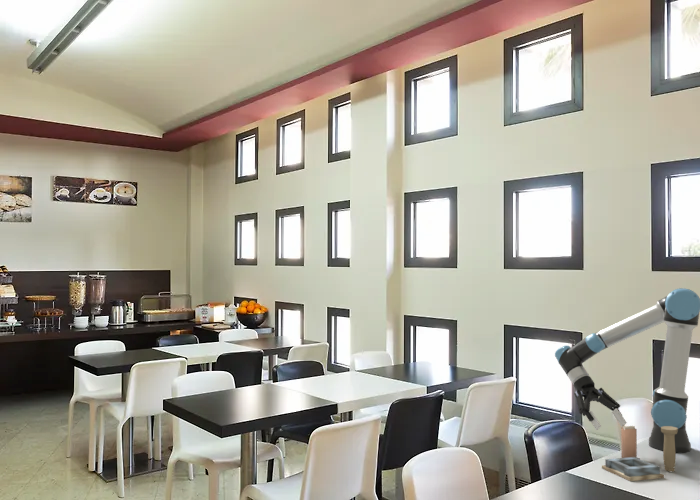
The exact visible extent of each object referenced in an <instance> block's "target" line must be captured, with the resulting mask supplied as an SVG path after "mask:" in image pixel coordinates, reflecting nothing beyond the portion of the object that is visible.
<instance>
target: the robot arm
mask: <svg viewBox="0 0 700 500" xmlns="http://www.w3.org/2000/svg"><path fill="white" fill-rule="evenodd" d="M699 318H700V297H699V295H698V294H697V293H696V292H695V291H694V290H692V289H689V288H685V287H684V288H682V287H681V288H680V287H679V288H675V289H673V290H672V291H670V292H669V293H668V294H667V295H666V296H664V297H663V298H660V299H659V300H657V301H656V303H655V304H654V305H652V306H650V307H648V308H646V309H643V310H642V311H639V312H637V313H635V314H633V315H630V316H629V317H626V318H624V319H622V320H620V321H619V322H616V323H613V324H612V325H610V326H608V327H607V326H606V327H605V328H604V329H601V330H599V331H598V332H595V333H594V332H592V333H590V334H589V335H587V336H586V337H584V338H583V339H581V340H580V341H579V342H578V343H576V344H575V345H573V346H569V345H562V346H560V347H559V348H558V349H557V350H556V351H554V356H555V358H556V360H557V362H558V364H559V365H560V367H561V368H562V370H563V371H564V373H565V374H566V376H567V378H568V379H569V381H570V382H571V384H572V385H573V388H574V389H575V392H574V394H573V395H574V396H575V399H576V404H577V409H578V413H579V414H581V415H582V416H583V417H586V418H587V420H588V421H589V422H590V423H591V424H592V426H593V428H594V430H595V431H598V430H599V429H600V428H602V424H601V423H600V421H599V420H598V418H597V417H596V415H595V413H594V412H593V411H592V410H590V408H591V402H597V403H600V404H601V405H603V406H604V407H606V408H607V409H609V410H610V411H611V414H612V415H613V417H614V418H615V420H616V421H617V422H618V425H620V427H623V426H626V424H628V422H627V421H626V420H625V418H624V417H623V414H622V412H620V410H619V408H620V407H621V404H619V402H618V401H616V400H615V399H614V398H613V397H611V396H610V394H608V393H607V392H606V391H605V390H604V389H603V387H600V388H598V389H597V388H596V387H595V381H594V380H593V379H592V377H591V376H590V375H589V373H588V371H587V369H586V367H584V364H583V363H585V362H586V361H588V360H589V359H591V358H592V357H594V356H596V355H597V354H598V353H600V352H602V351H604V350H606V349H607V348H609V347H610V348H611V347H613V346H615V345H616V344H619V343H621V342H623V341H625V340H627V339H629V338H632V337H634V336H637V335H639V334H641V333H643V332H645V331H647V330H650V329H652V328H654V327H656V326H659V325H661V324H662V323H665V324H666V332H665V333H666V334H665V341H664V348H663V349H664V350H663V357H662V364H661V373H660V379H659V386H658V387H657V388H655V389H654V390H653V393H652V400H653V401H652V406H651V408H650V409H651V411H650V414H651V415H650V416H651V418H652V420H653V421H652V422H653V423H652V424H653V426H652V428H651V433H650V436H649V438H648V446H649V447H651V448H653V449H656V450H660V451H663V449H664V433H662V432H661V427H663V426H672V427H676V428H678V432H677V434H675V436H674V438H675V453H687V452H690V451H691V450H692V446H691V442H690V440H689V436H688V432H687V428H686V427H687V425H686V423H687V418H688V417H687V416H688V415H687V410H688V409H687V408H688V401H689V395H688V394H687V393H686V392H685V390H686V389H685V388H686V383H687V374H688V367H689V361H690V360H689V358H690V350H691V344H692V337H693V330H694V329H696V328H697V327H698V325H699Z"/></svg>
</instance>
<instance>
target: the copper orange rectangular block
mask: <svg viewBox="0 0 700 500" xmlns="http://www.w3.org/2000/svg"><path fill="white" fill-rule="evenodd" d="M620 427H621V426H620ZM637 430H638V429H637V428H635V426H634V425H624V426H623V427H621V431H620V432H621V434H620V435H621V438H620V439H621V441H620V443H621V444H620V445H621V447H620V448H621V453H620V454H621V457H620V458H629V457H637V458H638V456H637V455H638V451H637V449H638V447H637V446H638V445H637V444H638V443H637V441H638V440H637V437H638V436H637V435H638V431H637Z"/></svg>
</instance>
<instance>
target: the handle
mask: <svg viewBox="0 0 700 500" xmlns="http://www.w3.org/2000/svg"><path fill="white" fill-rule="evenodd" d="M661 432H662V433H664V449H663V450H662V451H663V452H662V453H663V454H662V455H663V457H662V459H663V467H664V470H665V472H669V473H671V472H673V473H674V472H675V470H676V468H675V467H676V457H677V456H676V453H677V452H675V438H674V436H675V434H677V432H678V428H676V427H672V426H663V427H661Z"/></svg>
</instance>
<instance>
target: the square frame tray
mask: <svg viewBox="0 0 700 500" xmlns="http://www.w3.org/2000/svg"><path fill="white" fill-rule="evenodd" d="M604 464H605V465H601V469H603V470H604V471H607V472H610V473H611V474H613V475H616V476H617V477H620V478H622V479H624V480H627V481H629V482H638V481H644V480H645V481H646V480H647V481H648V480H657V479H664V478H665V474H663V473H661V465H660V466H659V465H657V464H652V463H649V462H647V461H645V460H642V459H641V458H639V457H638V456H637V457H629V458H621V457H618V458H616V457H615V458H606V459H605V463H604Z"/></svg>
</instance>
